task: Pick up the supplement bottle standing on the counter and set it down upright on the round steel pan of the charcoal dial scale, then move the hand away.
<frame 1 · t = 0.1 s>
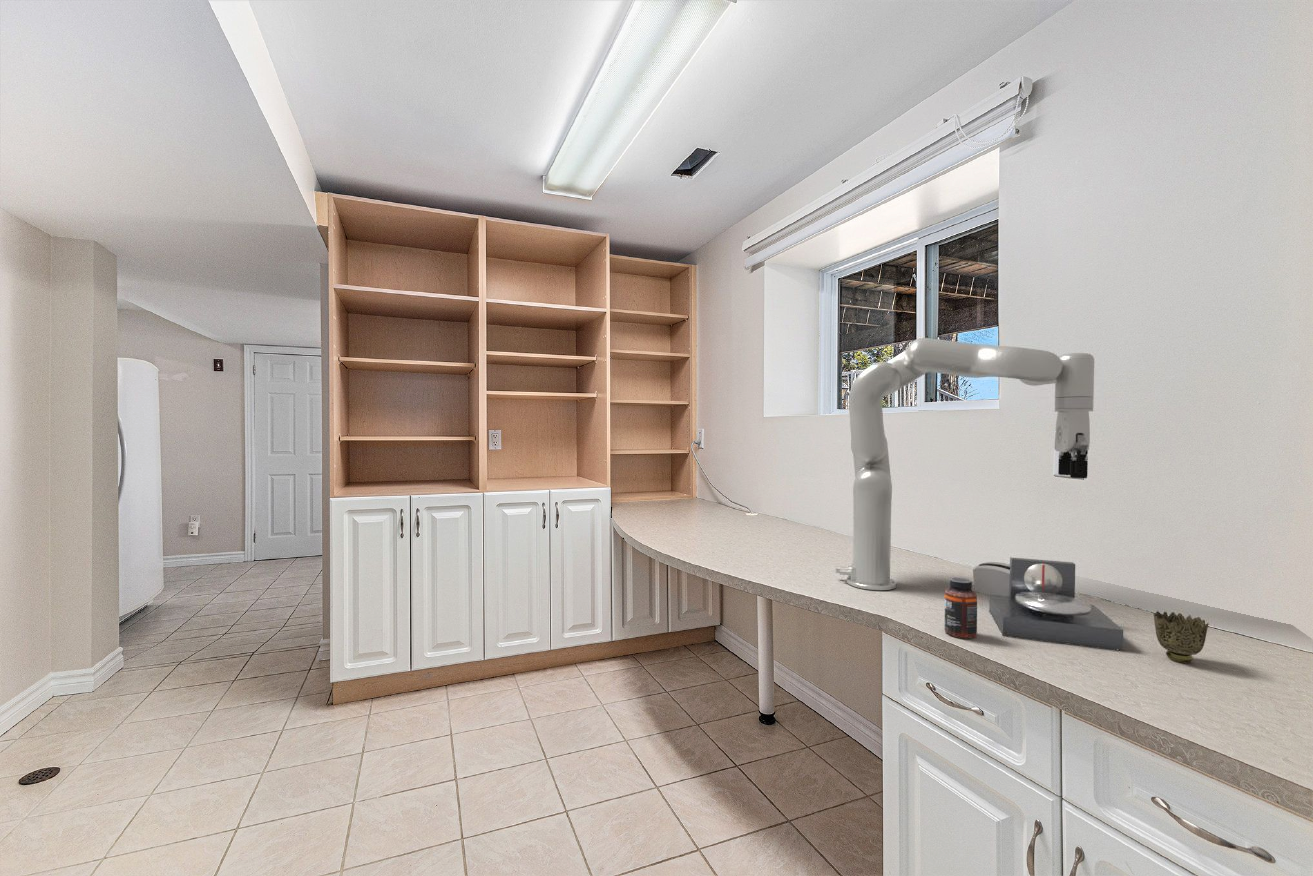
hand: (1072, 476, 138), 31 cm above the worktop, tool pointing down, fingers open, 9 cm apart
dial scale: (1049, 629, 122), on the worktop
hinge: (1007, 600, 144), on the worktop
supplement bottle: (960, 635, 118), on the worktop
cup: (1179, 661, 106), on the worktop
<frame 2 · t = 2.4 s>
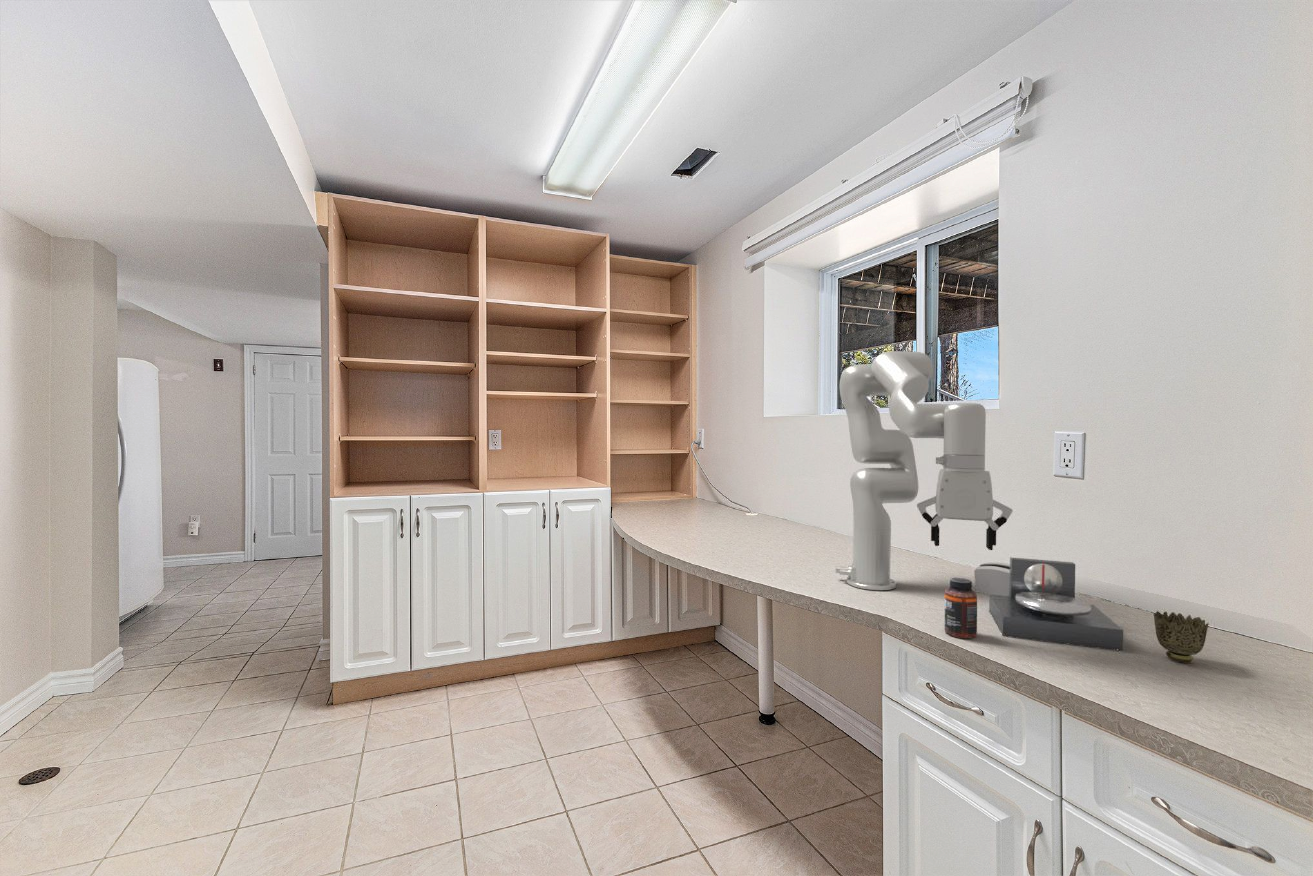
hand: (962, 546, 118), 18 cm above the worktop, tool pointing down, fingers open, 9 cm apart
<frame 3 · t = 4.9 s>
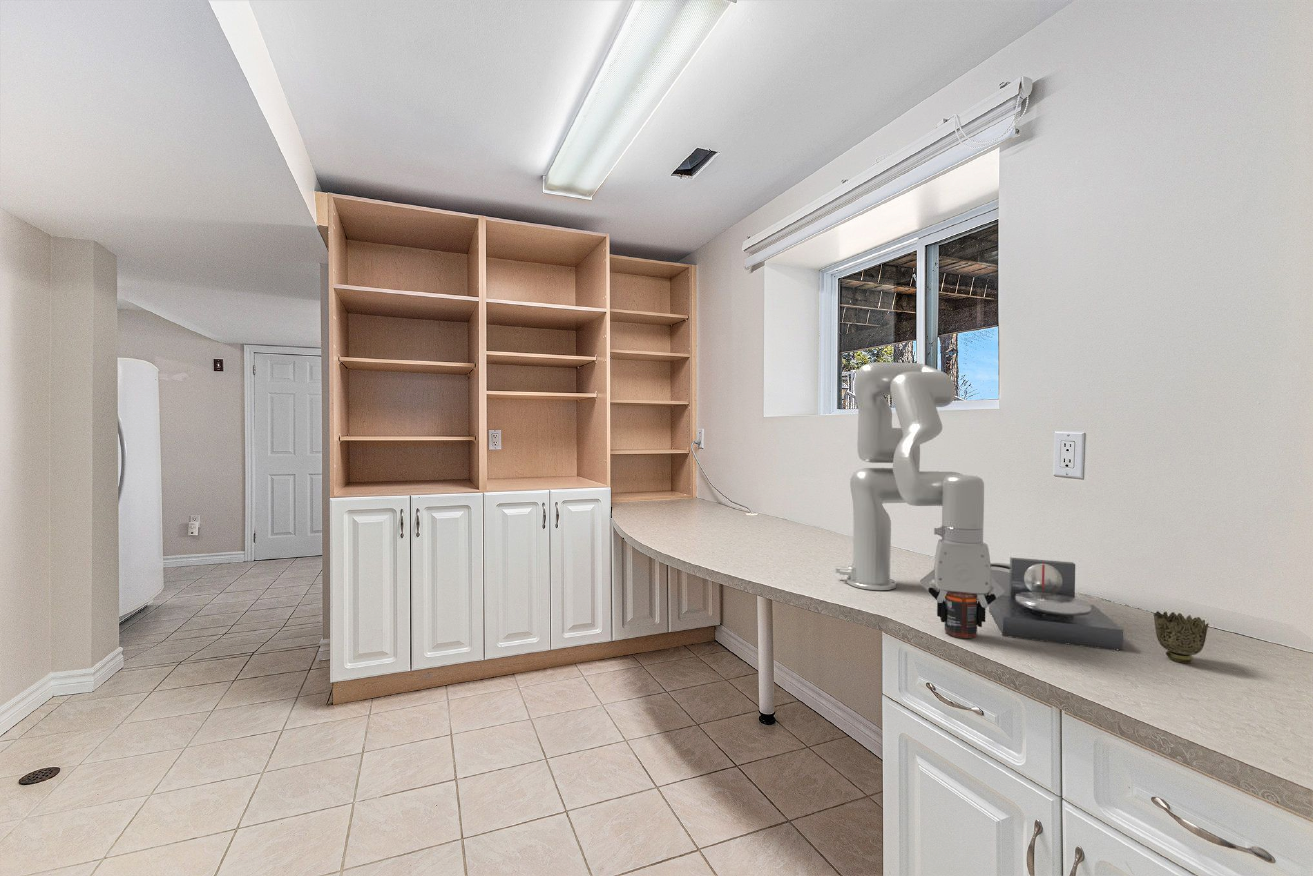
hand: (960, 621, 118), 3 cm above the worktop, tool pointing down, fingers closed on supplement bottle, 6 cm apart
supplement bottle: (960, 635, 118), on the worktop, touching gripper
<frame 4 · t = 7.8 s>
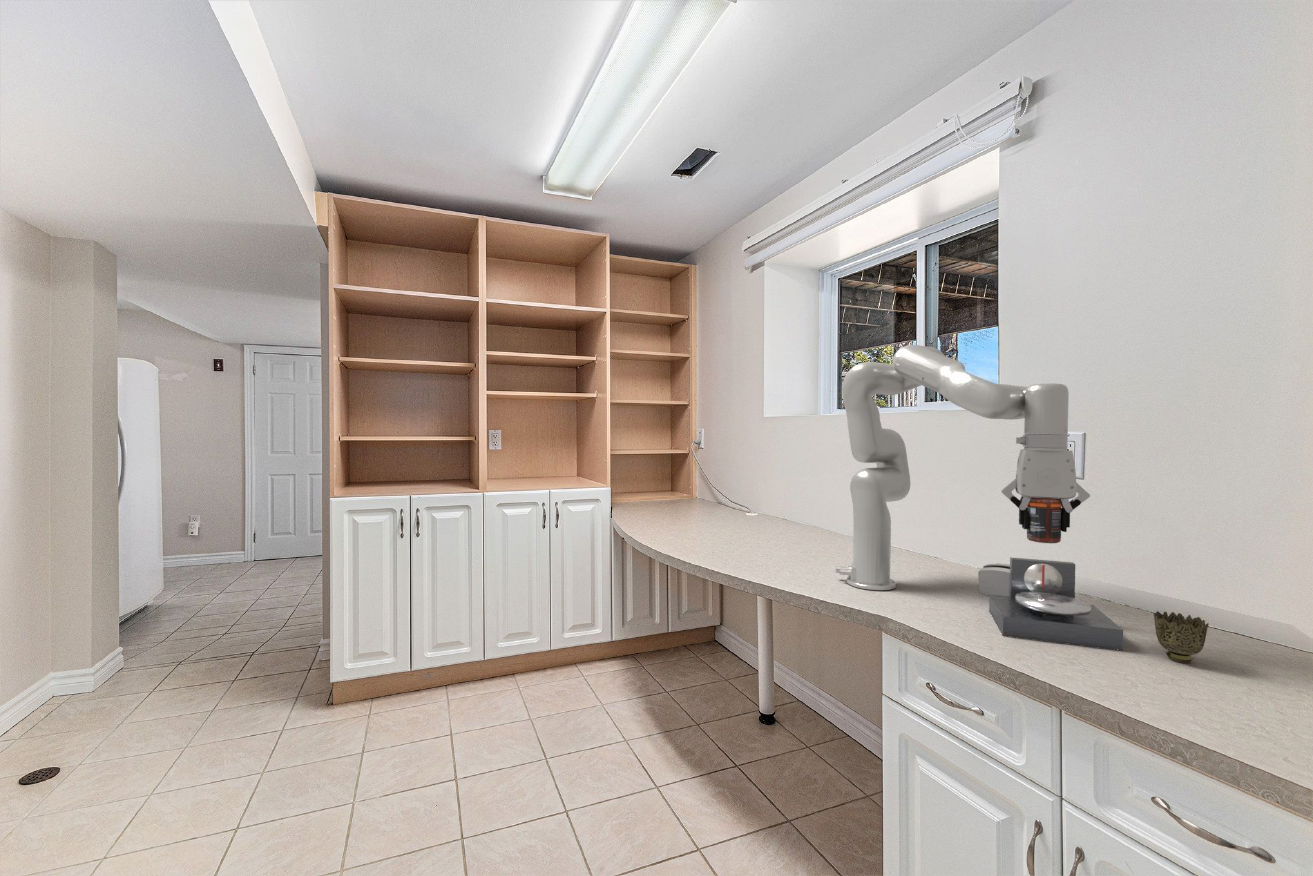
hand: (1043, 528, 120), 22 cm above the worktop, tool pointing down, fingers closed on supplement bottle, 6 cm apart
supplement bottle: (1043, 542, 120), point 19 cm above the worktop, touching gripper
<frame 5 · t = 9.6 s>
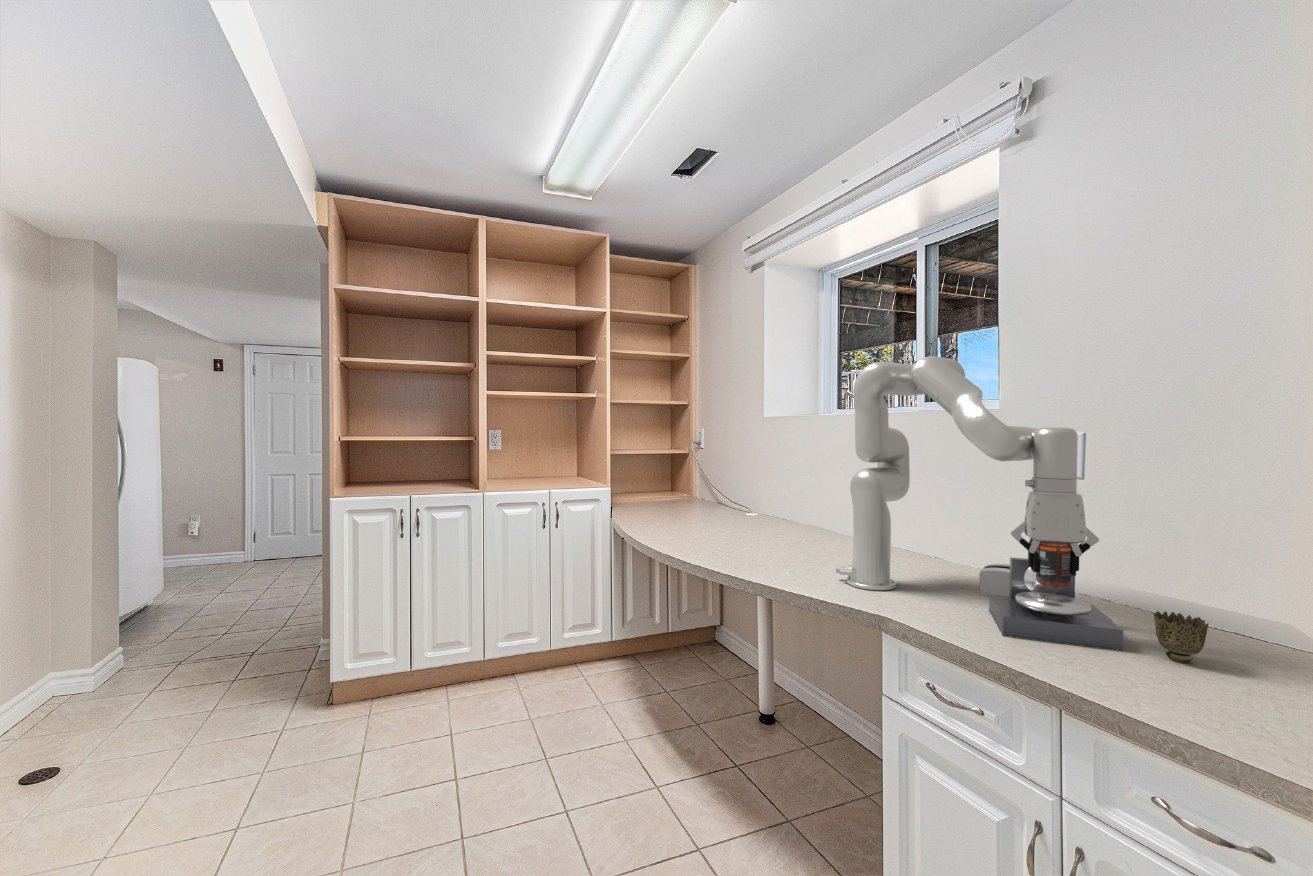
hand: (1052, 571, 120), 13 cm above the worktop, tool pointing down, fingers closed on supplement bottle, 6 cm apart
supplement bottle: (1052, 585, 120), point 10 cm above the worktop, touching gripper
when the fingers open (10 cm above the worktop, at t = 10.9 s): supplement bottle drops 1 cm, resting on dial scale.
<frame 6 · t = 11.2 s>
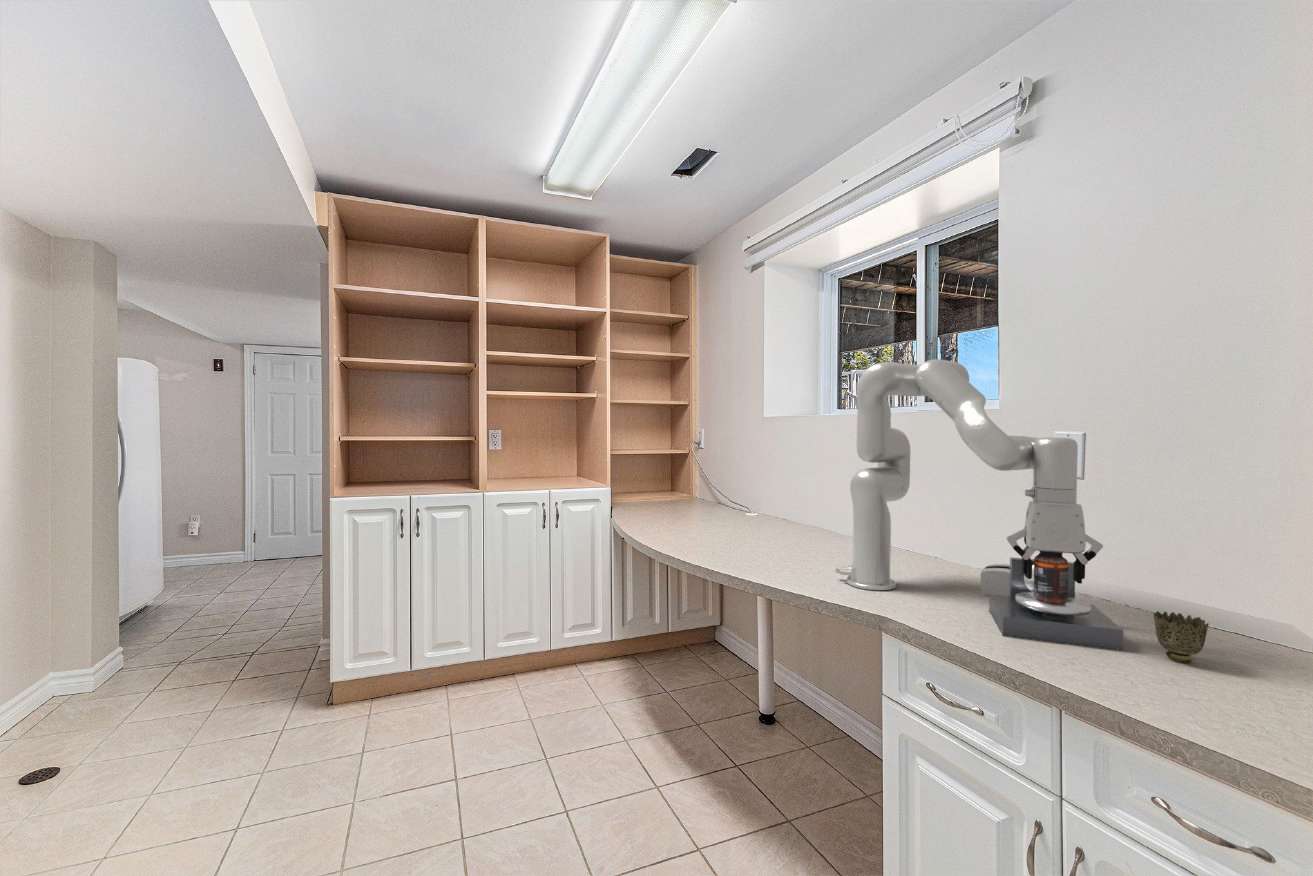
hand: (1052, 579, 120), 11 cm above the worktop, tool pointing down, fingers open, 8 cm apart
supplement bottle: (1050, 601, 120), point 6 cm above the worktop, touching dial scale
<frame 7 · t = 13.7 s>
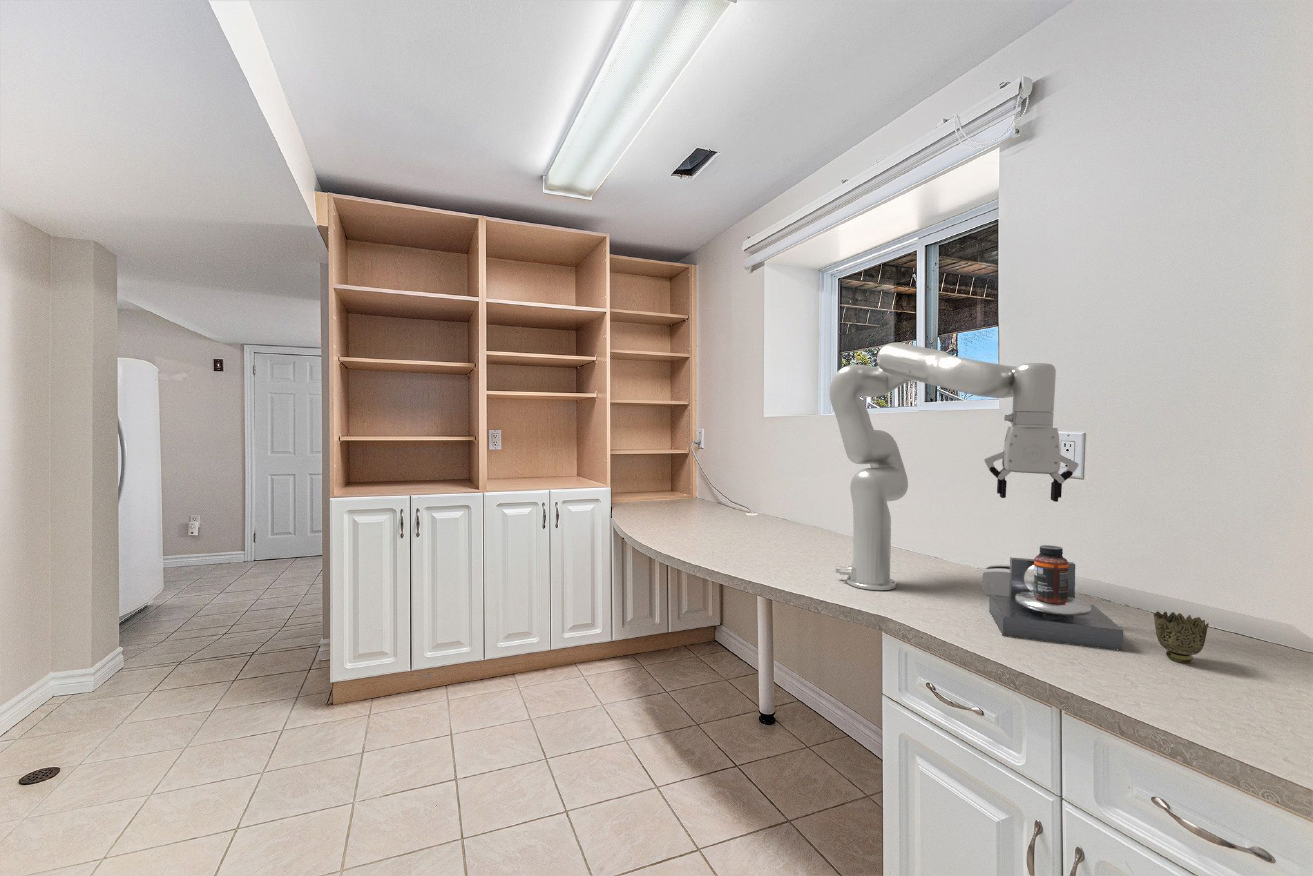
hand: (1028, 499, 125), 27 cm above the worktop, tool pointing down, fingers open, 9 cm apart
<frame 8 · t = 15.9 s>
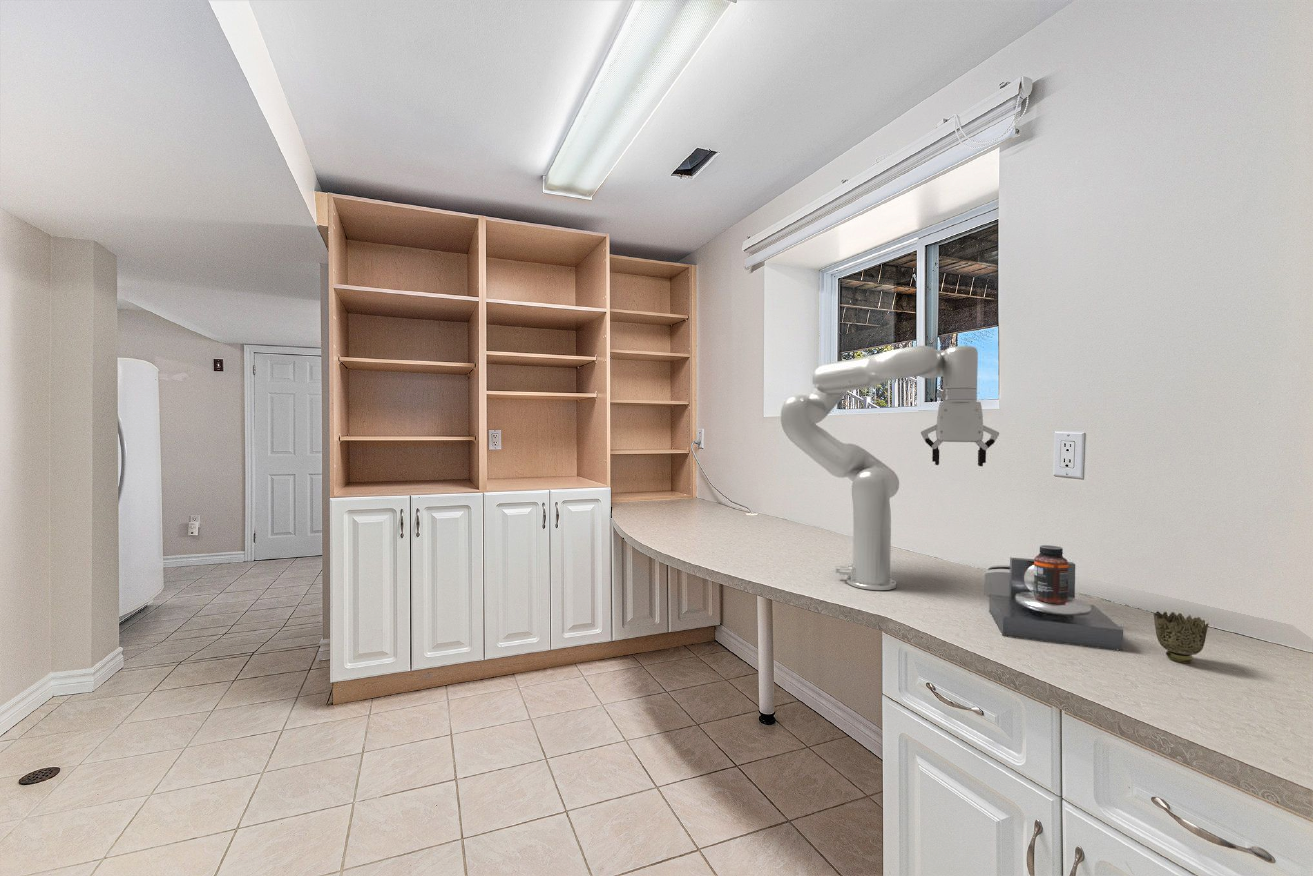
hand: (958, 465, 143), 33 cm above the worktop, tool pointing down, fingers open, 9 cm apart
at the end: supplement bottle inside the target area on the dial scale (0.3 cm from its centre), point 6.3 cm above the dial scale's base; supplement bottle tilted 0°; the gripper is holding nothing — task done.
